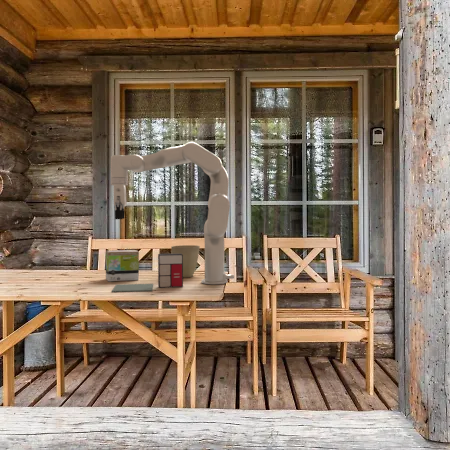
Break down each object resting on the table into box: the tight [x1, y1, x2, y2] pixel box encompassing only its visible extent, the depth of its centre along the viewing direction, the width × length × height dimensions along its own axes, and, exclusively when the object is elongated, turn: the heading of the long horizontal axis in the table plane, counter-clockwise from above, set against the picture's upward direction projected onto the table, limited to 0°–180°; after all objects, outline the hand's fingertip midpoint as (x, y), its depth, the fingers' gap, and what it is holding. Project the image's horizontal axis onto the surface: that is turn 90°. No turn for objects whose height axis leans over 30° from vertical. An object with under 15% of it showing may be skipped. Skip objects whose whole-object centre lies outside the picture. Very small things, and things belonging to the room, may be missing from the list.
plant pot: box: [171, 244, 201, 278], centre depth 233 cm, size 15×15×16 cm
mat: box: [111, 283, 154, 293], centre depth 197 cm, size 17×16×1 cm
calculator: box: [157, 253, 184, 289], centre depth 201 cm, size 11×4×15 cm, turn 101°
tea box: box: [105, 249, 140, 282], centre depth 222 cm, size 15×10×15 cm, turn 112°
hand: (119, 218), depth 206 cm, fingers open, 9 cm apart
